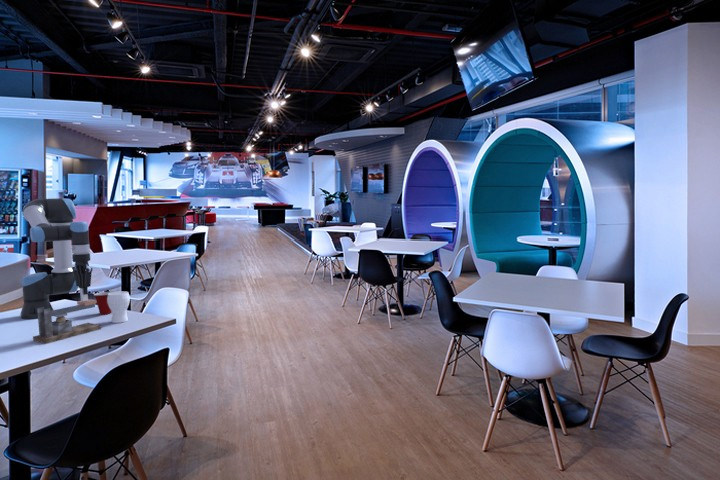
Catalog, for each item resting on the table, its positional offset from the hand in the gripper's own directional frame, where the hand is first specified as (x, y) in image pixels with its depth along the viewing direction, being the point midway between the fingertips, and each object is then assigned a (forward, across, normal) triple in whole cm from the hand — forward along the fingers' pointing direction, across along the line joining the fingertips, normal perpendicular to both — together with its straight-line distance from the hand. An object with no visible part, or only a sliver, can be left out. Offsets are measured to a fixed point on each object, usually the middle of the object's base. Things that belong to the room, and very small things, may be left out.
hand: (84, 300), depth 232 cm
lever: (+5, 0, -7) cm, 9 cm away
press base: (+15, 0, -9) cm, 17 cm away
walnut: (+7, 0, -12) cm, 14 cm away
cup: (+15, 0, +18) cm, 24 cm away
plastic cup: (+15, -22, +25) cm, 37 cm away
